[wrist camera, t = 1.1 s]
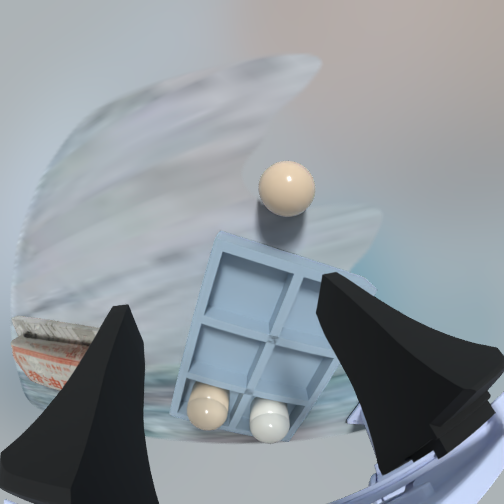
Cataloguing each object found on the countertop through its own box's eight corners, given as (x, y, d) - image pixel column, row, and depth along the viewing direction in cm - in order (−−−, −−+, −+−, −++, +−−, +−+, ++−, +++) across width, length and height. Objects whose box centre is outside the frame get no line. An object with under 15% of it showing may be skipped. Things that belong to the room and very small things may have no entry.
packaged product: (103, 350, 22) (131, 421, 25) (123, 325, 27) (143, 394, 29) (-5, 328, 23) (24, 390, 25) (17, 312, 27) (40, 372, 30)
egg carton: (365, 277, 25) (377, 289, 22) (286, 423, 29) (288, 441, 27) (220, 230, 24) (215, 237, 21) (175, 397, 29) (169, 414, 26)
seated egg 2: (293, 397, 27) (298, 431, 22) (279, 419, 28) (282, 452, 23) (257, 389, 27) (257, 424, 22) (245, 413, 28) (244, 446, 23)
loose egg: (313, 172, 22) (328, 171, 18) (298, 217, 23) (308, 229, 19) (267, 156, 22) (270, 150, 17) (252, 202, 23) (251, 209, 18)
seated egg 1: (234, 384, 27) (231, 419, 22) (224, 408, 28) (220, 441, 23) (196, 373, 26) (186, 407, 22) (189, 398, 27) (180, 431, 23)
